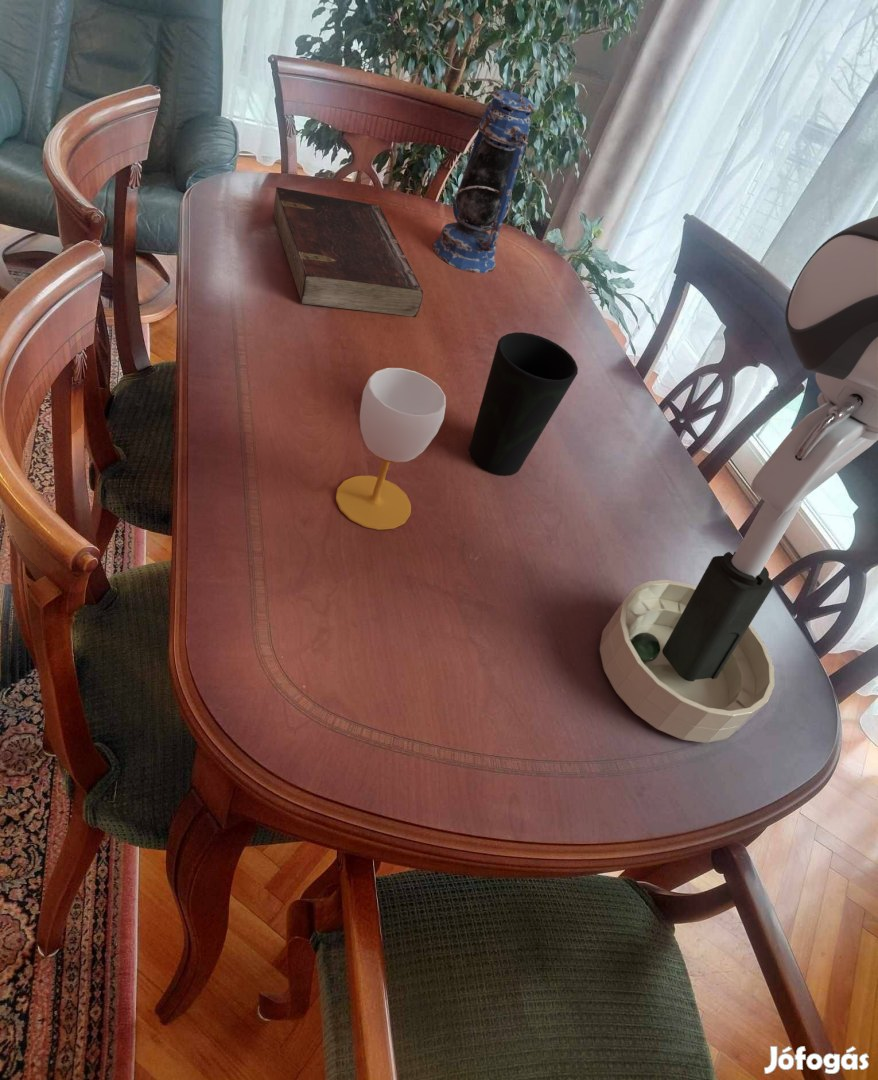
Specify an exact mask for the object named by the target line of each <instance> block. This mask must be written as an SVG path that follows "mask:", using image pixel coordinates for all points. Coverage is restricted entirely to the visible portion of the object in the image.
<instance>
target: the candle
mask: <svg viewBox="0 0 878 1080" xmlns="http://www.w3.org/2000/svg"><path fill="white" fill-rule="evenodd" d="M764 503H765V501H764V500H763V502H762V504H761V507H762V506H763V504H764ZM802 503H803V500H801V501H799V502H798V503H797V504H796V505H794V506H793V507H792V508H790V509H789V510H788V511H786V513H785V514H784V515H783V516H782V517H781V518H779V519H778V520H776V521H772V520H771V519H769V518H768V517H767V516H765V515H764V514H763V513H762V512H761V507H760V508H759V510H758V512H757V514H756V516H755V517H754V519H753V521H752V523H751V524H750V526H749V528H748V530H747V532H746V533H745V534H744V537H743V539H742V540H741V542H740V544H739V546H738V547H737V548H736V551H734V552H733V553H731V551H727V552H725V553H724V554H723V555H716V556H713V557H712V558H711V559H710V562H709V563H708V565H707V567H706V569H705V571H704V573H703V574H702V577H701V578H700V580H699V582H698V584H697V585H696V586H695V587H696V589H695V591H694V593H693V595H692V597H691V598H690V600H689V602H688V604H687V606H686V608H685V609H684V611H683V613H682V615H681V617H680V619H679V620H678V622H677V624H676V626H675V628H674V630H673V631H672V633H671V635H670V637H669V639H668V641H667V642H666V644H665V646H664V648H663V650H662V652H663V655H664V656H665V657H666V659H667V660H668V661H669V663H670V664H671V665H672V667H673V668H674V669H675V671H676V672H677V673H678V675H679V676H680V677H682V678H683V679H685V680H687V681H695V680H698V679H706V678H712V679H716V678H717V677H718V675H719V674H720V672H721V670H722V669H723V667H724V666H725V664H726V662H727V661H728V659H729V657H730V656H731V654H732V653H733V651H734V649H735V648H736V646H737V644H738V643H739V641H740V640H741V638H742V636H743V635H744V633H745V631H746V630H747V628H748V627H749V625H751V623H752V622H753V620H754V618H755V617H756V615H757V614H758V612H759V611H760V609H761V607H762V605H763V604H764V602H765V601H766V600H767V598H768V596H769V594H770V592H771V591H772V590H773V587H774V582H773V580H772V579H771V577H770V572H769V570H768V568H766V565H767V564H768V562H769V559H770V558H771V556H772V554H773V553H774V551H775V549H776V548H777V546H778V545H779V543H780V541H781V539H782V538H783V536H784V534H785V532H786V531H787V529H788V528H789V526H790V524H791V523H792V522H793V519H794V518H795V516H796V514H797V513H798V511H799V509H800V508H801V506H802Z"/></svg>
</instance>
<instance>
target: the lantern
mask: <svg viewBox="0 0 878 1080" xmlns="http://www.w3.org/2000/svg"><path fill="white" fill-rule="evenodd" d="M516 85H517V86H518V87H519V88H520V90H519V93H518V92H514V91H513V90H514V89H515V86H516ZM523 94H524V85H523V83H521V82H519V80H515V81H513V83H512V85H511V87H510V88H509V87H507V88H506V89H499V90H492V91H491V92H490V96H491V98H492V100H491V101H489V102H488V103H487V105H486V109H485V111H484V114H483V115H482V118H481V120H480V122H479V124H477V129H478V131H477V134H476V137H475V139H474V143H473V145H472V150H471V151H470V154H469V158H468V160H467V164H466V166H465V169H464V172H463V174H462V178H461V181H460V184H459V186H458V188H457V190H456V192H455V194H454V196H453V199H452V200H453V202H452V203H453V205H452V212H453V216H454V218H455V221H456V222H450V223H446V224H445V225H444V226H443V227H442V230H441V233H440V236H439V237H438V238H437V239H436V240H435V242H433V243H432V251H433V252H434V253H435V255H436V256H437V257H438V259H440V260H442V261H443V262H444V263H446V264H447V265H449V266H452V267H454V268H457V269H459V270H461V271H465V272H470V273H472V274H473V273H475V274H487V273H489V272H493V271H494V270H495V268H496V267H497V264H496V257H495V255H496V252H497V248H498V244H497V243H498V239H499V236H500V232H501V229H502V225H503V222H504V220H505V218H506V217H507V215H508V213H509V211H510V207H511V203H512V194H513V193H512V192H513V189H514V185H515V182H516V179H517V175H518V172H519V168H520V165H521V162H522V159H523V155H524V152H525V148H526V146H528V144H529V138H528V137H529V134H530V132H529V131H530V127H531V125H532V120H531V118H530V117H531V115H532V112H533V113H534V112H535V111H536V110H537V108H536V106H535V104H534V103H532V101H531V100H530V99H529V98H528V97H525V96H524V95H523ZM489 231H490V233H489Z"/></svg>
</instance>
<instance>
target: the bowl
mask: <svg viewBox="0 0 878 1080" xmlns="http://www.w3.org/2000/svg"><path fill="white" fill-rule="evenodd" d="M696 587H697V586H695V585H692V584H690V583H686V582H681V581H675V580H671V579H660V580H648V581H645V582H643V583H641V584H640V585H637V586H635V587H634V588H632V589H631V590H630V592H629V593H628V594H627V595H626V596H625V597H624V599H623V600H622V602H621V603H620V605H619V606H618V607H617V609H616V611H615V613H614V614H613V615H612V617H610V619H609V621H608V622H607V624H606V626H605V627H604V628H603V630H602V631H601V638H600V644H599V653H600V659H601V663H602V668H603V671H604V673H605V675H606V677H607V679H608V680H609V683H610V684H611V686H612V688H613V690H614V691H615V693H616V694H617V696H619V698H620V699H621V700H622V701H623V702H624V703H625V704H626V706H628V708H629V709H630V710H631V711H632V712H633V713H634V714H635V715H636V716H638V717H640V718H641V719H642V720H644V721H645V722H646V723H647V724H649V725H650V726H652V727H653V728H654V729H656V730H658V731H660V732H663V733H665V734H667V735H670V736H672V737H675V738H677V739H680V740H682V741H690V742H695V743H703V744H708V743H714V742H718V741H724V740H727V739H728V738H730V737H731V736H733V734H735V733H736V732H738V731H739V730H740V729H742V727H744V725H745V724H747V722H749V720H751V719H752V718H753V717H754V716H755V715H756V714H757V713H758V712H759V711H760V710H761V709H762V708H763V707H764V706H765V705H766V704H767V703H768V702H769V700H770V697H771V696H772V693H773V691H774V688H775V667H774V663H773V661H772V658H771V655H770V653H769V650H768V647H767V646H766V643H765V642H764V641H763V639H762V638H761V637H760V635H759V634H758V632H757V631H756V629H755V628H754V627H753V625H752V624H750V625H749V627H748V628H747V630H746V631H745V633H744V635H743V636H742V638H741V640H740V641H739V643H738V644H737V646H736V648H735V649H734V651H733V653H732V654H731V656H730V657H729V659H728V661H727V662H726V664H725V666H724V667H723V669H722V670H721V672H720V674H719V675H718V677H717V678H716V679H712V678H706V679H698V680H695V681H687V680H685V679H683V678H682V677H680V676H679V675H678V673H677V672H676V671H675V669H674V668H673V667H672V665H671V664H670V663H669V661H668V660H667V659H666V657H665V656H664V655H663V652H662V650H663V648H664V646H665V644H666V642H667V641H668V639H669V637H670V635H671V633H672V631H673V630H674V628H675V626H676V624H677V622H678V620H679V619H680V617H681V615H682V613H683V611H684V609H685V608H686V606H687V604H688V602H689V600H690V598H691V597H692V595H693V593H694V591H695V589H696ZM644 632H645V633H650V634H652V635H654V636H655V637H656V638H657V639H658V641H659V643H660V653H659V655H658V656H657V658H656V659H655V660H653V661H651V662H642V661H641V659H640V657H639V655H638V654H637V652H636V650H635V648H634V647H633V645H632V643H631V640H632V638H633V637H634V636H635V635H637V634H639V633H644Z"/></svg>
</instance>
